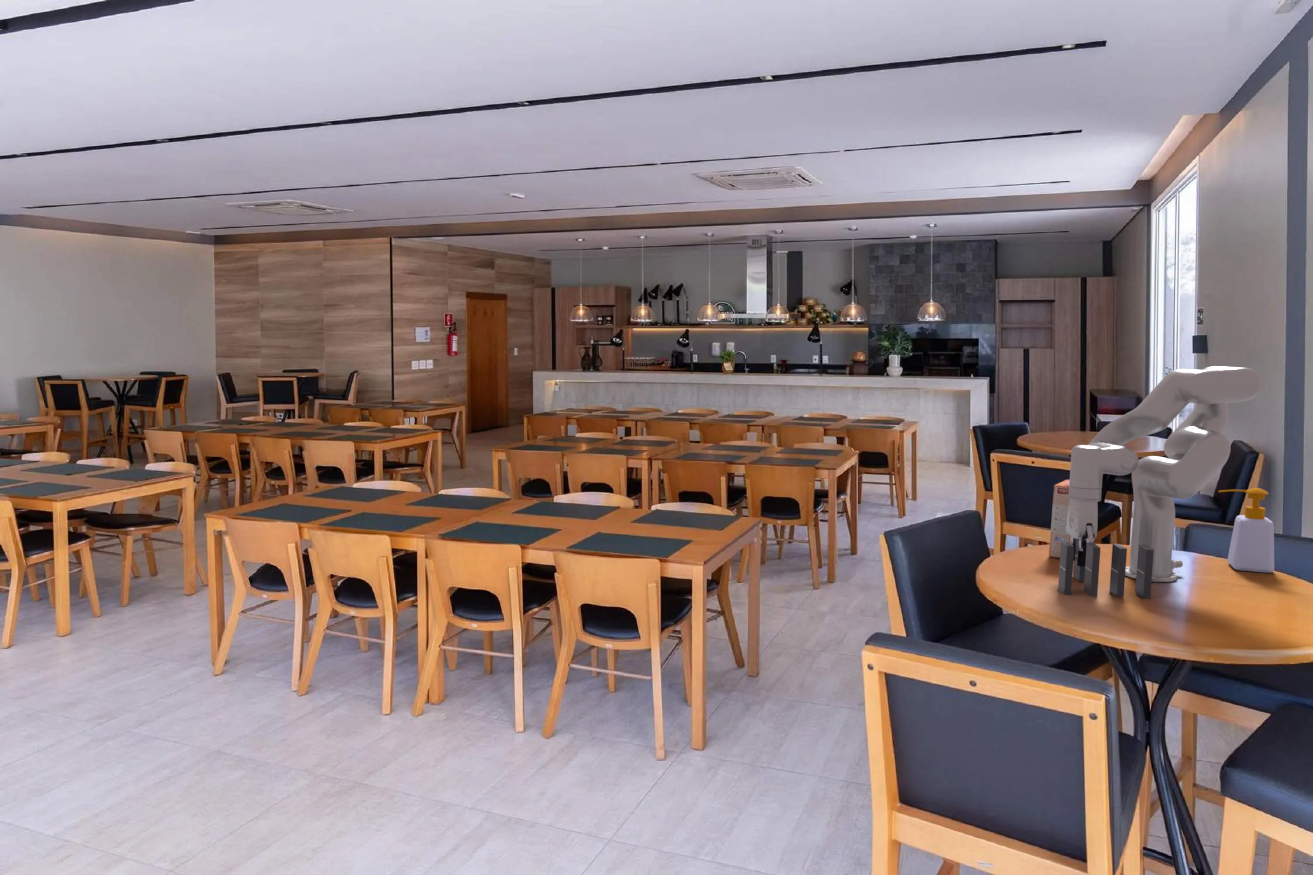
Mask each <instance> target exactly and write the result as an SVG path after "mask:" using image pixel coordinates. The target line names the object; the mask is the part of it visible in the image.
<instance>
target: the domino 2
mask: <svg viewBox="0 0 1313 875" xmlns="http://www.w3.org/2000/svg"><path fill="white" fill-rule="evenodd" d="M1082 539H1087V537H1085V536H1083V537H1082ZM1084 542H1086V541H1083V544H1084ZM1078 550H1079V539H1075V556H1074V561H1073V573H1072V578H1074V579H1075V580H1076V581H1077V582H1079V583H1084V577H1085V567H1084V566H1078V565H1077V556H1078Z"/></svg>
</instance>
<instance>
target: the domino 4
mask: <svg viewBox="0 0 1313 875" xmlns="http://www.w3.org/2000/svg"><path fill="white" fill-rule="evenodd" d="M1127 553H1128V548H1126V547H1125V546H1123V545H1122V544H1120V543H1112V550H1111V563H1110V577H1109V578H1110V579H1109V590H1108V591H1109V592H1110V593H1111V594H1112V595H1113V596H1114V597H1115V598H1124V597H1125V596H1124V595H1125V594H1124V593H1125V583H1126V575H1125V570H1126V567H1127Z"/></svg>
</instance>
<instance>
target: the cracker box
mask: <svg viewBox="0 0 1313 875" xmlns="http://www.w3.org/2000/svg"><path fill="white" fill-rule="evenodd" d="M1069 482H1070V479H1064V480H1063V481H1061V482H1058V483H1056V484H1054V485H1053V493H1052V494H1053V496H1052V497H1053V498H1052V507H1051V508H1052V509H1051V524H1050V535H1049V537H1050V538H1049V548H1048V549H1049V550H1048V557H1049V558H1054V559H1060V552H1061V542H1069V543H1070V544H1071V539H1072V537H1071V535H1069V534H1068V533H1067V532H1066V524H1067V515H1068V507H1069V502H1070V499H1069V498H1068V497H1069Z"/></svg>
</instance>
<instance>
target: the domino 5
mask: <svg viewBox="0 0 1313 875" xmlns="http://www.w3.org/2000/svg"><path fill="white" fill-rule="evenodd" d="M1153 554H1154V550H1153V549H1152V548H1150V547H1148V546H1146V545H1139V548H1138V562H1137V576H1136V579H1135V590H1134V591H1135V592H1134V593H1135V594H1136V595H1137V596H1139V597H1140V598H1142V599H1145V600H1149V599H1151V590H1152V567H1153Z"/></svg>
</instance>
